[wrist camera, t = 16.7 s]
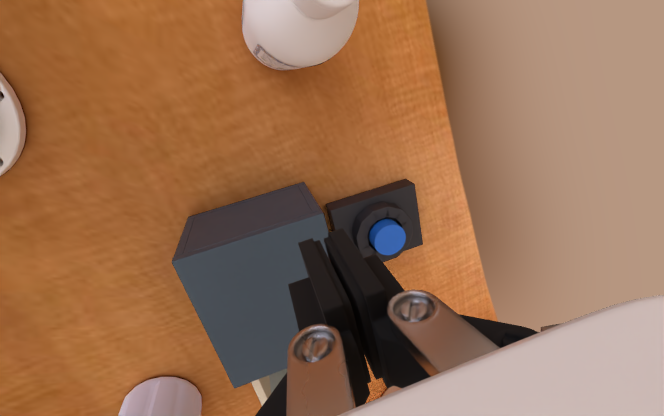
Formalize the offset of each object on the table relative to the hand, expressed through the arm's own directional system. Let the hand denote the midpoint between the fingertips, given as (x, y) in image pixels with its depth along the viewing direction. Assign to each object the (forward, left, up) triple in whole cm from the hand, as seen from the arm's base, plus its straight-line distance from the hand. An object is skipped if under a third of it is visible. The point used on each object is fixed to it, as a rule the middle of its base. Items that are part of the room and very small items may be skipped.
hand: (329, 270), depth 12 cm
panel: (+9, -12, -25) cm, 29 cm away
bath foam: (+4, +10, -25) cm, 27 cm away
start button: (+9, -12, -21) cm, 26 cm away
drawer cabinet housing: (-4, -12, -25) cm, 28 cm away
